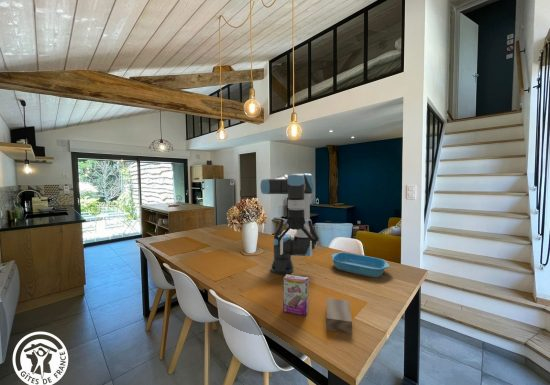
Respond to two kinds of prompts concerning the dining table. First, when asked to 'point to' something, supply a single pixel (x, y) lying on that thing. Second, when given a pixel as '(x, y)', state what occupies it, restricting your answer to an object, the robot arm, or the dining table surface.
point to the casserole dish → (359, 264)
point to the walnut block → (338, 316)
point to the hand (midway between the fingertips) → (296, 255)
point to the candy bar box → (295, 294)
